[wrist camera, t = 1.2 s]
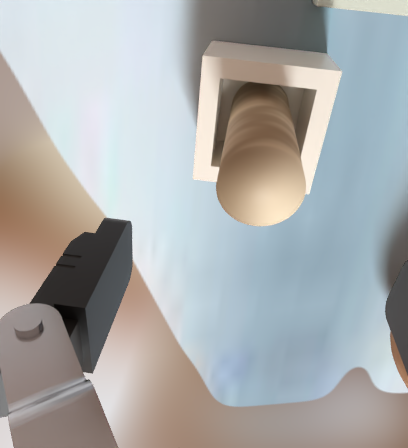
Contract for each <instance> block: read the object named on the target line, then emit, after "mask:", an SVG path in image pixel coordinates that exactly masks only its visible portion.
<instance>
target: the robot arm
mask: <svg viewBox="0 0 408 448" xmlns="http://www.w3.org/2000/svg"><path fill="white" fill-rule="evenodd" d="M131 271H132V224H131V221H126V220H119V219H111V218H104V220H103V221H102V223H101V224H100V226H99V228H98V229H97V231H96V233H88V232H84V233H83V234H81V235H80V236H78V237H77V238H75V239H74V240H72V241H71V242H70V244H69V245H68V247H67V248H66V250H65V251H64V253H63V256H61V257H60V259H59V260H58V262H57V264H56V266H54V268H53V269H52V271H51V272H50V274H49V275H48V277H47V278H46V280H45V281H44V283H43V284H42V286H41V287H40V289H39V290H38V292H37V293H36V295H35V296H34V298H33V299H32V301H31V302H30V304H27V305H23V306H20V307H17V308H15V309H13V310H11V311H10V312H8V313H7V314H6V315H4V316H3V317H2V318H1V319H0V417H6V416H8V420H9V426H10V431H11V436H12V441H13V446H14V448H118V446H117V443H116V441H115V439H114V436H113V433H112V431H111V428H110V426H109V423H108V421H107V418H106V416H105V414H104V411H103V408H102V406H101V403H100V401H99V398H98V396H97V394H96V391H95V389H94V387H93V384H92V383H91V381H90V380H86V378H85V376H84V374H83V372H87V373H93V371H94V369H95V366H96V364H97V361H98V358H99V356H100V354H101V351H102V349H103V346H104V344H105V341H106V339H107V336H108V333H109V331H110V328H111V325H112V323H113V321H114V318H115V316H116V313H117V311H118V308H119V306H120V303H121V300H122V298H123V296H124V293H125V291H126V288H127V286H128V283H129V280H130V276H131ZM385 313H386V319H387V322H388V324H389V327H390V330H391V332H392V335H393V338H394V340H395V343H396V346H397V348H398V351H399V354H400V356H401V359H402V362H403V364H404V367H405V370H406V372H407V375H408V260H407V261H406V262H405V263H404V265H403V267H402V269H401V271H400V273H399V275H398V277H397V279H396V281H395V283H394V286H393V288H392V290H391V292H390V294H389V296H388V298H387V301H386V307H385Z"/></svg>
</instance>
